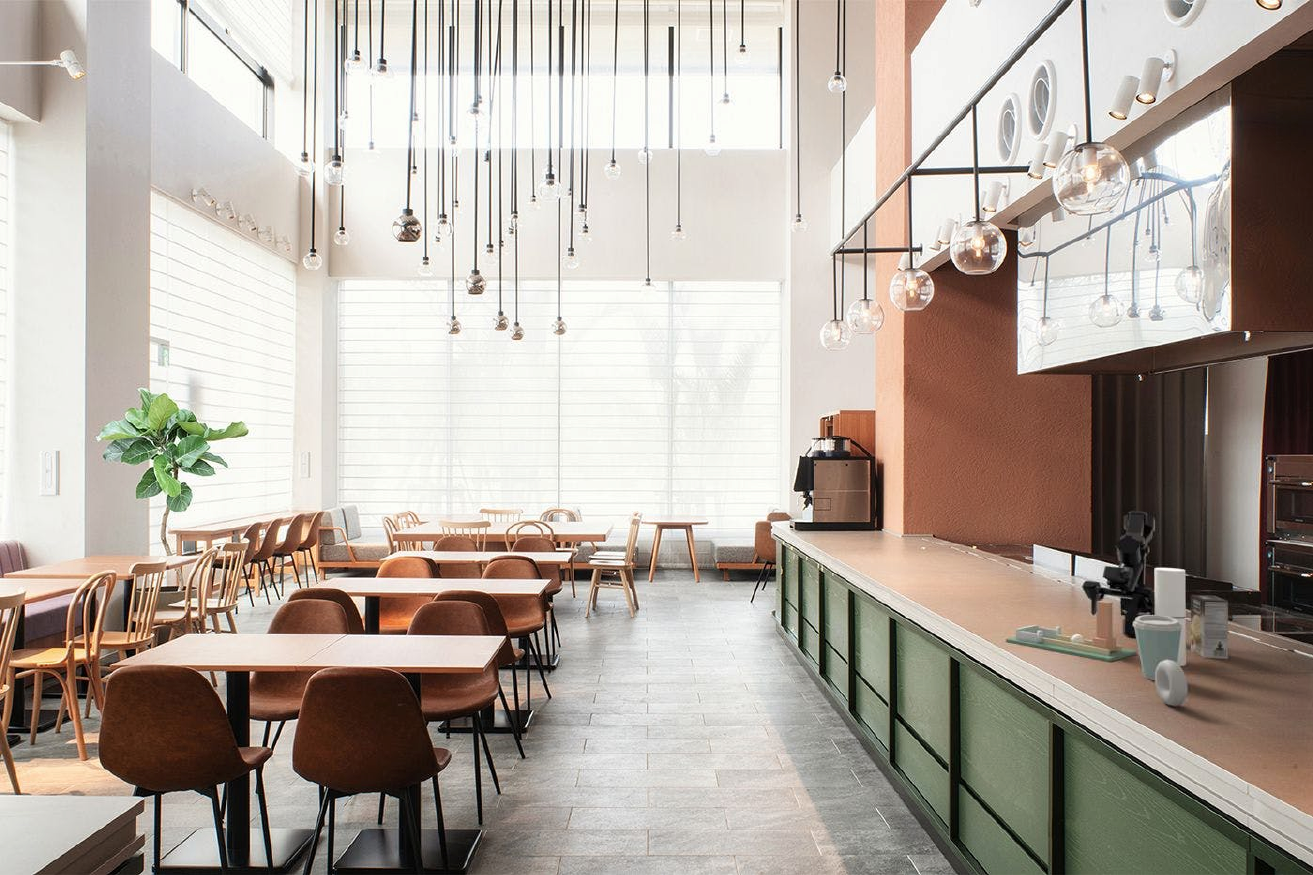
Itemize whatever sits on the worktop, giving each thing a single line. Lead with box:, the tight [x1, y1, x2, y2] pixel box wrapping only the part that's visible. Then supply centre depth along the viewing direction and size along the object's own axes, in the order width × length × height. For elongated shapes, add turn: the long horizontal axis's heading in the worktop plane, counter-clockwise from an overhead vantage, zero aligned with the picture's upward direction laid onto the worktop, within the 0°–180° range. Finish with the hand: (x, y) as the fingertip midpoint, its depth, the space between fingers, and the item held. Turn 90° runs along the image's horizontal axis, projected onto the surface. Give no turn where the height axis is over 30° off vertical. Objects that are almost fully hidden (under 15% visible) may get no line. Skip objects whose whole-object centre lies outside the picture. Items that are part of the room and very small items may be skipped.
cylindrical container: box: [1154, 567, 1187, 667], centre depth 229 cm, size 7×7×25 cm
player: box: [1092, 600, 1117, 652], centre depth 238 cm, size 6×4×14 cm, turn 127°
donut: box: [1154, 660, 1188, 707], centre depth 189 cm, size 10×4×10 cm, turn 174°
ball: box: [1071, 633, 1085, 645], centre depth 244 cm, size 4×4×4 cm
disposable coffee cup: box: [1133, 615, 1182, 681], centre depth 212 cm, size 11×11×15 cm
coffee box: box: [1190, 594, 1229, 660], centre depth 238 cm, size 9×6×16 cm
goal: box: [1015, 624, 1062, 644], centre depth 253 cm, size 12×8×4 cm
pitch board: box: [1005, 634, 1138, 663], centre depth 245 cm, size 16×30×2 cm, turn 37°
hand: (1109, 616), depth 239 cm, fingers open, 9 cm apart
